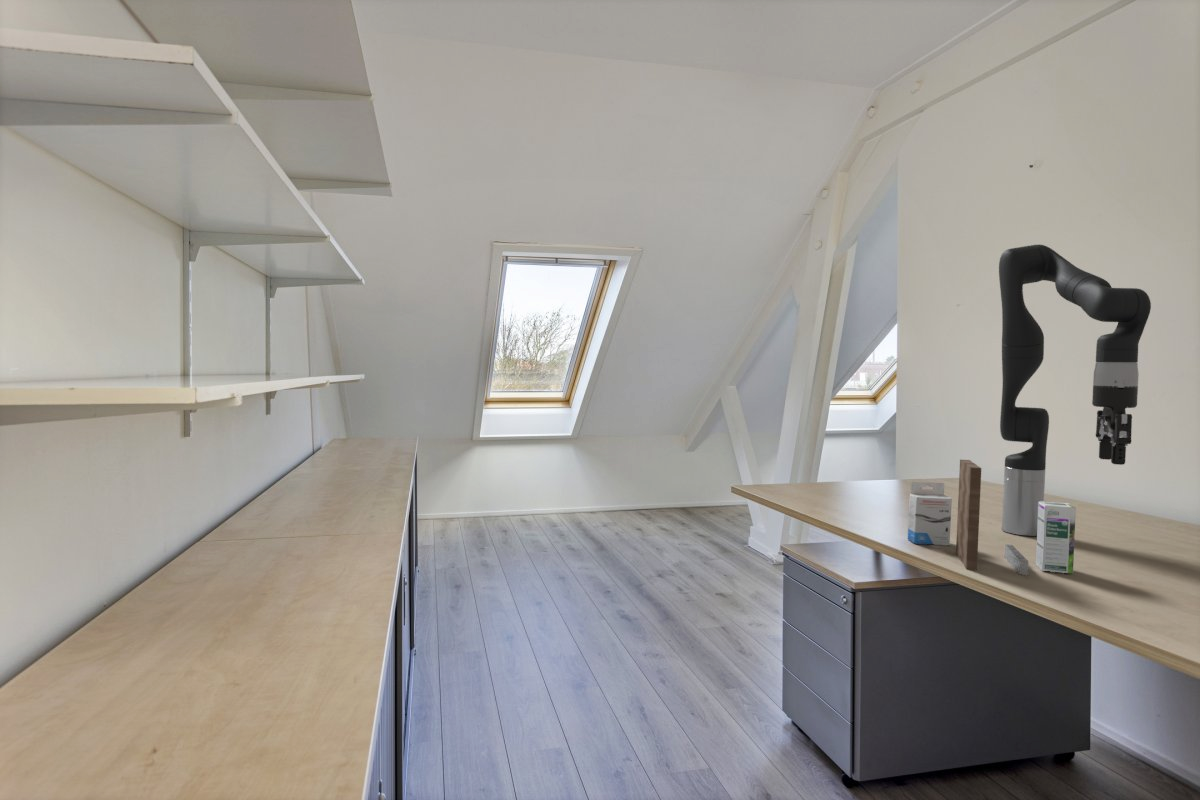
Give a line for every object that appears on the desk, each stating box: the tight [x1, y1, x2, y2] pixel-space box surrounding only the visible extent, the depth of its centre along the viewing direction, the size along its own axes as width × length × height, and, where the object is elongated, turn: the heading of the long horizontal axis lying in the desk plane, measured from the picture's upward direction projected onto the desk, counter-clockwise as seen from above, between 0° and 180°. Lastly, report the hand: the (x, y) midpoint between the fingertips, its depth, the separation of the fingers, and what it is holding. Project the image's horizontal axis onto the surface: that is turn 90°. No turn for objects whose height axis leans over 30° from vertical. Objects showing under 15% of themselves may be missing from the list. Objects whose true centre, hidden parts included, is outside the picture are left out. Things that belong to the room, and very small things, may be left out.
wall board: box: [955, 459, 1029, 576], centre depth 153 cm, size 14×12×22 cm
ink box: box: [907, 481, 953, 546], centre depth 171 cm, size 9×5×15 cm, turn 84°
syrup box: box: [1035, 501, 1077, 574], centre depth 149 cm, size 6×6×14 cm
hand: (1111, 461), depth 145 cm, fingers open, 8 cm apart
